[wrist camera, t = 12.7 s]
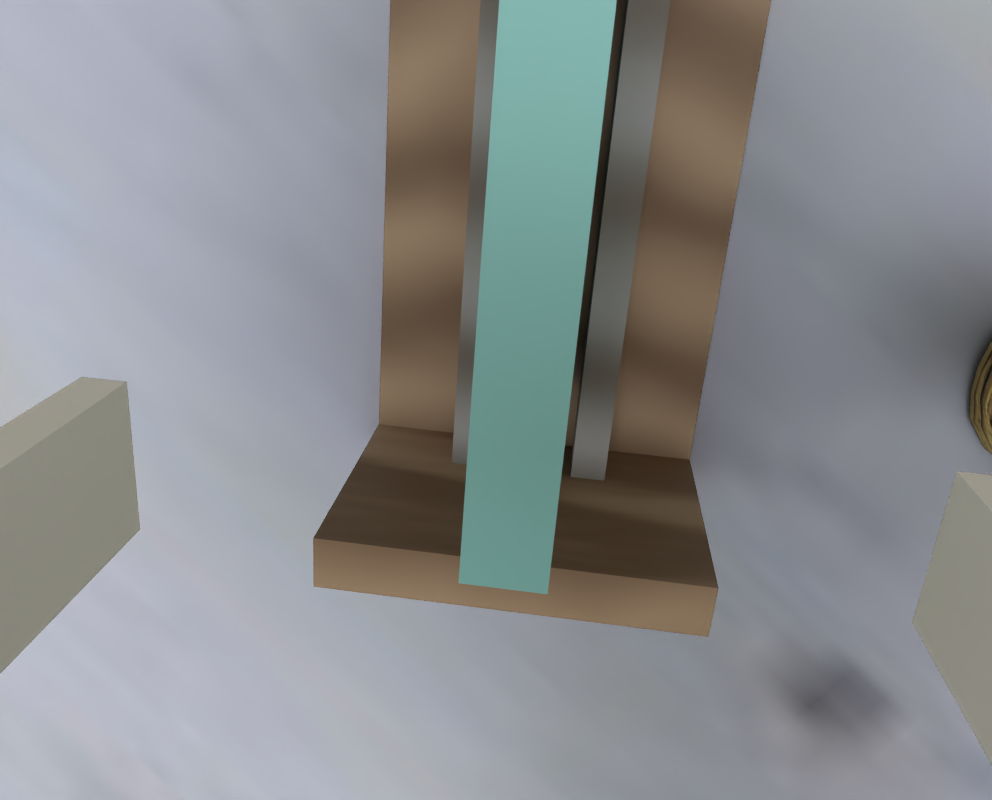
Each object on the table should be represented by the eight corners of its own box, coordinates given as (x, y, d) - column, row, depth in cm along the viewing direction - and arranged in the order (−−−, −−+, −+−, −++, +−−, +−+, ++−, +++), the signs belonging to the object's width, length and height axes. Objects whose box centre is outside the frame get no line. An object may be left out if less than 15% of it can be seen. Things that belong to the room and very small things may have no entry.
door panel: (566, 382, 38) (547, 594, 23) (512, 376, 38) (458, 583, 24) (613, -25, 32) (626, -86, 17) (547, -30, 32) (506, -95, 17)
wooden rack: (679, 484, 41) (708, 636, 30) (385, 449, 42) (313, 586, 31) (793, -166, 31) (894, -274, 21) (404, -190, 32) (309, -307, 22)
